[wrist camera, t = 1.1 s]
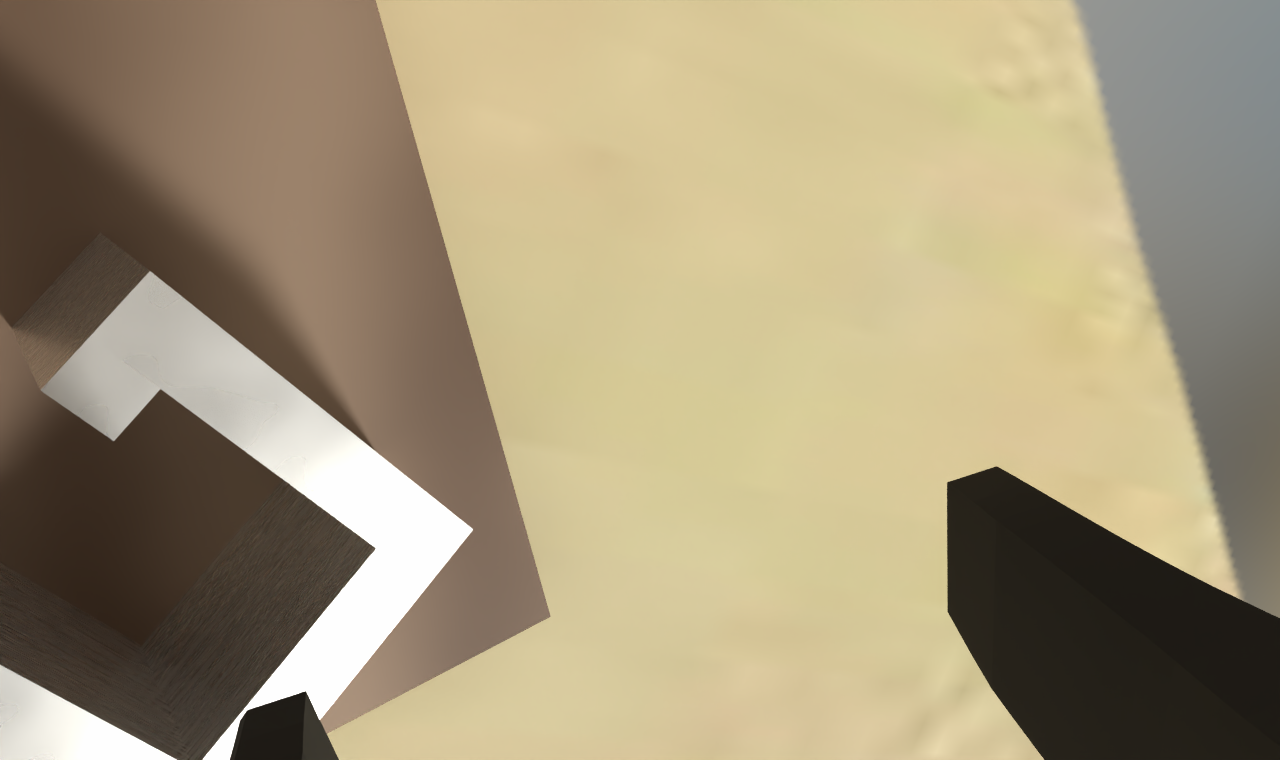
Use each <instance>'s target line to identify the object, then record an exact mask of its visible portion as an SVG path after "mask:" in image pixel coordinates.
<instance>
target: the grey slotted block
mask: <svg viewBox="0 0 1280 760" xmlns="http://www.w3.org/2000/svg"><path fill="white" fill-rule="evenodd" d="M11 328H12V330H13V332H14V334H15V337H16V339H17V341H18V343H19V345H20V347H21V350H22V352H23V354H24V356H25V358H26V360H27V363H28V365H29V367H30V369H31V371H32V373H33V375H34V378H35V380H36V382H37V384H38V386H39V388H40V390H41V391H42V392H43V393H45V394H46V395H48V396H49V397H51V398H52V399H54V400H55V401H56V402H58V403H59V404H61V405H62V406H64V407H65V408H67V409H68V410H69V411H71V412H72V413H74V414H75V415H77V416H78V417H80V418H81V419H82V420H84V421H85V422H87V423H88V424H90V425H91V426H93V427H94V428H95V429H97V430H98V431H100V432H101V433H103V434H104V435H106V436H107V437H108V438H110V439H111V440H113V441H115V439H116V438H117V437H118V436H119V435H120V434H121V433H122V432H123V430H124V429H125V428H126V427H127V426H128V425H129V424H130V423H131V421H132V420H133V419H134V418H135V417H136V416H137V415H138V414H139V413H140V411H141V410H142V409H143V408H144V407H145V406H146V405H147V404H148V402H149V401H150V400H151V399H152V398H153V397H154V396H155V395H156V394H157V392H158V391H159V390H160V389H161V390H163V391H164V392H165V393H167V394H168V395H169V396H171V397H172V398H174V399H175V400H176V401H178V402H179V403H180V404H182V405H183V406H184V407H186V408H187V409H188V410H190V411H191V412H192V413H194V414H195V415H197V416H198V417H199V418H201V419H202V420H203V421H205V422H206V423H207V424H209V425H210V426H211V427H213V428H214V429H215V430H217V431H218V432H220V433H221V434H222V435H224V436H225V437H226V438H228V439H229V440H230V441H232V442H233V443H234V444H236V445H237V446H238V447H240V448H241V449H243V450H244V451H245V452H247V453H248V454H249V455H251V456H252V457H253V458H255V459H256V460H257V461H259V462H260V463H261V464H263V465H264V466H266V467H267V468H268V469H270V470H271V471H272V472H274V473H275V474H276V475H278V476H279V477H280V478H282V479H283V480H282V481H281V482H280V484H279V485H278V486H277V487H276V488H275V489H274V491H273V492H272V493H271V494H270V495H269V497H268V498H267V499H266V500H265V501H264V502H263V504H262V505H261V506H260V507H259V508H258V509H257V511H256V512H255V513H254V514H253V515H252V516H251V518H250V519H249V520H248V521H247V522H246V523H245V525H244V526H243V527H242V528H241V529H240V531H239V532H238V533H237V534H236V535H235V536H234V538H233V539H232V540H231V541H230V542H229V543H228V545H227V546H226V547H225V548H224V549H223V550H222V552H221V553H220V554H219V555H218V556H217V558H216V559H215V560H214V561H213V562H212V563H211V565H210V566H209V567H208V568H207V569H206V570H205V572H204V573H203V574H202V575H201V576H200V577H199V579H198V580H197V581H196V582H195V583H194V584H193V586H192V587H191V588H190V589H189V590H188V592H187V593H186V594H185V595H184V596H183V597H182V599H181V600H180V601H179V602H178V603H177V604H176V606H175V607H174V608H173V609H172V610H171V611H170V613H169V614H168V615H167V616H166V617H165V619H164V620H163V621H162V622H161V623H160V624H159V626H158V627H157V628H156V629H155V630H154V631H153V633H152V634H151V635H150V636H149V637H148V638H147V640H146V641H145V642H144V643H143V644H142V645H139V644H137V643H135V642H134V641H132V640H130V639H129V638H127V637H125V636H124V635H122V634H120V633H119V632H117V631H115V630H113V629H112V628H110V627H108V626H107V625H105V624H103V623H102V622H100V621H98V620H96V619H95V618H93V617H91V616H90V615H88V614H86V613H85V612H83V611H81V610H80V609H78V608H76V607H74V606H73V605H71V604H69V603H68V602H66V601H64V600H63V599H61V598H59V597H57V596H56V595H54V594H52V593H51V592H49V591H47V590H46V589H44V588H42V587H41V586H39V585H37V584H35V583H34V582H32V581H30V580H29V579H27V578H25V577H24V576H22V575H20V574H19V573H17V572H15V571H13V570H12V569H10V568H8V567H7V566H5V565H3V564H2V563H0V760H230V756H231V752H232V749H233V745H234V741H235V737H236V733H237V729H238V725H239V721H240V720H241V718H242V717H243V715H244V714H245V712H246V711H247V710H248V709H251V708H254V707H258V706H261V705H264V704H267V703H270V702H273V701H276V700H279V699H282V698H285V697H288V696H291V695H294V694H298V693H301V692H304V691H307V694H308V696H309V698H310V700H311V702H312V704H313V706H314V708H315V711H316V713H317V715H318V717H319V719H321V718H322V716H323V715H324V714H325V713H326V711H327V710H328V709H329V708H330V706H331V705H332V704H333V703H334V701H335V700H336V699H337V698H338V696H339V695H340V694H341V693H342V692H343V690H344V689H345V688H346V687H347V685H348V684H349V683H350V682H351V680H352V679H353V678H354V677H355V675H356V674H357V673H358V672H359V670H360V669H361V668H362V667H363V665H364V664H365V663H366V662H367V660H368V659H369V658H370V657H371V656H372V654H373V653H374V652H375V651H376V649H377V648H378V647H379V646H380V644H381V643H382V642H383V641H384V639H385V638H386V637H387V636H388V634H389V633H390V632H391V631H392V629H393V628H394V627H395V626H396V625H397V623H398V622H399V621H400V620H401V618H402V617H403V616H404V615H405V613H406V612H407V611H408V610H409V608H410V607H411V606H412V605H413V603H414V602H415V601H416V600H417V598H418V597H419V596H420V595H421V593H422V592H423V591H424V590H425V589H426V587H427V586H428V585H429V584H430V582H431V581H432V580H433V579H434V577H435V576H436V575H437V574H438V572H439V571H440V570H441V569H442V567H443V566H444V565H445V564H446V562H447V561H448V560H449V559H450V558H451V556H452V555H453V554H454V553H455V551H456V550H457V549H458V548H459V546H460V545H461V544H462V543H463V541H464V540H465V539H466V538H467V536H468V535H469V534H470V533H471V531H472V530H473V529H472V528H471V527H469V526H468V525H467V524H466V523H464V522H463V521H462V520H461V519H459V518H458V517H457V516H456V515H454V514H453V513H452V512H451V511H449V510H448V509H447V508H446V507H444V506H443V505H442V504H441V503H439V502H438V501H437V500H436V499H434V498H433V497H432V496H431V495H429V494H428V493H427V492H426V491H424V490H423V489H422V488H421V487H419V486H418V485H417V484H416V483H414V482H413V481H412V480H411V479H409V478H408V477H407V476H406V475H404V474H403V473H402V472H401V471H399V470H398V469H397V468H396V467H394V466H393V465H392V464H391V463H389V462H388V461H387V460H386V459H384V458H383V457H382V456H381V455H379V454H378V453H377V452H376V451H374V450H373V449H372V448H371V447H369V446H368V445H367V444H366V443H364V442H363V441H362V440H361V439H359V438H358V437H357V436H356V435H354V434H353V433H352V432H351V431H349V430H348V429H347V428H346V427H344V426H343V425H342V424H341V423H339V422H338V421H337V420H336V419H334V418H333V417H332V416H331V415H329V414H328V413H327V412H326V411H324V410H323V409H322V408H321V407H319V406H318V405H317V404H316V403H314V402H313V401H312V400H311V399H309V398H308V397H307V396H306V395H304V394H303V393H302V392H301V391H299V390H298V389H297V388H296V387H294V386H293V385H292V384H291V383H289V382H288V381H287V380H286V379H284V378H283V377H282V376H281V375H279V374H278V373H277V372H276V371H274V370H273V369H272V368H271V367H269V366H268V365H267V364H266V363H264V362H263V361H262V360H261V359H259V358H258V357H257V356H256V355H254V354H253V353H252V352H251V351H249V350H248V349H247V348H246V347H244V346H243V345H242V344H241V343H239V342H238V341H237V340H236V339H234V338H233V337H232V336H231V335H229V334H228V333H227V332H226V331H224V330H223V329H222V328H221V327H219V326H218V325H217V324H216V323H214V322H213V321H212V320H211V319H209V318H208V317H207V316H206V315H204V314H203V313H202V312H201V311H199V310H198V309H197V308H196V307H194V306H193V305H192V304H191V303H189V302H188V301H187V300H186V299H184V298H183V297H182V296H181V295H179V294H178V293H177V292H176V291H174V290H173V289H172V288H171V287H169V286H168V285H167V284H166V283H164V282H163V281H162V280H161V279H159V278H158V277H157V276H156V275H154V274H153V273H152V272H151V271H149V270H148V269H147V268H145V267H144V266H143V265H142V264H140V263H139V262H138V261H136V260H135V259H134V258H133V257H131V256H130V255H129V254H127V253H126V252H125V251H123V250H122V249H121V248H120V247H118V246H117V245H116V244H114V243H113V242H112V241H110V240H109V239H108V238H107V237H105V236H104V235H103V234H101V233H99V235H98V236H97V237H96V238H95V239H94V240H93V241H92V242H91V243H90V244H89V245H88V246H87V247H86V248H85V249H84V251H83V252H82V253H81V254H80V255H79V256H78V257H77V258H76V259H75V260H74V261H73V262H72V263H71V264H70V266H69V267H68V268H67V269H66V270H65V271H64V272H63V273H62V274H61V275H60V276H59V277H58V278H57V279H56V280H55V282H54V283H53V284H52V285H51V286H50V287H49V288H48V289H47V290H46V291H45V292H44V293H43V294H42V295H41V297H40V298H39V299H38V300H37V301H36V302H35V303H34V304H33V305H32V306H31V307H30V308H29V309H28V310H27V311H26V313H25V314H24V315H23V316H22V317H21V318H20V319H19V320H18V321H17V322H16V323H15V324H14V325H13V326H12V327H11Z"/></svg>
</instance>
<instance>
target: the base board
mask: <svg viewBox="0 0 1280 760" xmlns="http://www.w3.org/2000/svg"><path fill="white" fill-rule="evenodd" d="M99 233H101V234H103V235H104V236H105V237H107V238H108V239H109V240H110V241H112V242H113V243H114V244H116V245H117V246H118V247H120V248H121V249H122V250H123V251H125V252H126V253H127V254H129V255H130V256H131V257H133V258H134V259H135V260H136V261H138V262H139V263H140V264H142V265H143V266H144V267H145V268H147V269H148V270H149V271H151V272H152V273H153V274H154V275H156V276H157V277H158V278H159V279H161V280H162V281H163V282H164V283H166V284H167V285H168V286H169V287H171V288H172V289H173V290H174V291H176V292H177V293H178V294H179V295H181V296H182V297H183V298H184V299H186V300H187V301H188V302H189V303H191V304H192V305H193V306H194V307H196V308H197V309H198V310H199V311H201V312H202V313H203V314H204V315H206V316H207V317H208V318H209V319H211V320H212V321H213V322H214V323H216V324H217V325H218V326H219V327H221V328H222V329H223V330H224V331H226V332H227V333H228V334H229V335H231V336H232V337H233V338H234V339H236V340H237V341H238V342H239V343H241V344H242V345H243V346H244V347H246V348H247V349H248V350H249V351H251V352H252V353H253V354H254V355H256V356H257V357H258V358H259V359H261V360H262V361H263V362H264V363H266V364H267V365H268V366H269V367H271V368H272V369H273V370H274V371H276V372H277V373H278V374H279V375H281V376H282V377H283V378H284V379H286V380H287V381H288V382H289V383H291V384H292V385H293V386H294V387H296V388H297V389H298V390H299V391H301V392H302V393H303V394H304V395H306V396H307V397H308V398H309V399H311V400H312V401H313V402H314V403H316V404H317V405H318V406H319V407H321V408H322V409H323V410H324V411H326V412H327V413H328V414H329V415H331V416H332V417H333V418H334V419H336V420H337V421H338V422H339V423H341V424H342V425H343V426H344V427H346V428H347V429H348V430H349V431H351V432H352V433H353V434H354V435H356V436H357V437H358V438H359V439H361V440H362V441H363V442H364V443H366V444H367V445H368V446H369V447H371V448H372V449H373V450H374V451H376V452H377V453H378V454H379V455H381V456H382V457H383V458H384V459H386V460H387V461H388V462H389V463H391V464H392V465H393V466H394V467H396V468H397V469H398V470H399V471H401V472H402V473H403V474H404V475H406V476H407V477H408V478H409V479H411V480H412V481H413V482H414V483H416V484H417V485H418V486H419V487H421V488H422V489H423V490H424V491H426V492H427V493H428V494H429V495H431V496H432V497H433V498H434V499H436V500H437V501H438V502H439V503H441V504H442V505H443V506H444V507H446V508H447V509H448V510H449V511H451V512H452V513H453V514H454V515H456V516H457V517H458V518H459V519H461V520H462V521H463V522H464V523H466V524H467V525H468V526H469V527H471V528H472V529H473V530H472V531H471V533H470V534H469V535H468V536H467V538H466V539H465V540H464V541H463V543H462V544H461V545H460V546H459V548H458V549H457V550H456V551H455V553H454V554H453V555H452V556H451V558H450V559H449V560H448V561H447V562H446V564H445V565H444V566H443V567H442V569H441V570H440V571H439V572H438V574H437V575H436V576H435V577H434V579H433V580H432V581H431V582H430V584H429V585H428V586H427V587H426V589H425V590H424V591H423V592H422V593H421V595H420V596H419V597H418V598H417V600H416V601H415V602H414V603H413V605H412V606H411V607H410V608H409V610H408V611H407V612H406V613H405V615H404V616H403V617H402V618H401V620H400V621H399V622H398V623H397V625H396V626H395V627H394V628H393V629H392V631H391V632H390V633H389V634H388V636H387V637H386V638H385V639H384V641H383V642H382V643H381V644H380V646H379V647H378V648H377V649H376V651H375V652H374V653H373V654H372V656H371V657H370V658H369V659H368V660H367V662H366V663H365V664H364V665H363V667H362V668H361V669H360V670H359V672H358V673H357V674H356V675H355V677H354V678H353V679H352V680H351V682H350V683H349V684H348V685H347V687H346V688H345V689H344V690H343V692H342V693H341V694H340V695H339V696H338V698H337V699H336V700H335V701H334V703H333V704H332V705H331V706H330V708H329V709H328V710H327V711H326V713H325V714H324V715H323V716H322V718H321V719H320V721H321V723H322V725H323V727H324V730H325V732H326V734H327V733H329V732H331V731H333V730H335V729H337V728H338V727H340V726H342V725H344V724H346V723H348V722H350V721H352V720H354V719H356V718H358V717H359V716H361V715H363V714H365V713H367V712H369V711H371V710H373V709H375V708H377V707H379V706H380V705H382V704H384V703H386V702H388V701H390V700H392V699H394V698H396V697H398V696H400V695H402V694H403V693H405V692H407V691H409V690H411V689H413V688H415V687H417V686H419V685H421V684H423V683H424V682H426V681H428V680H430V679H432V678H434V677H436V676H438V675H440V674H442V673H444V672H445V671H447V670H449V669H451V668H453V667H455V666H457V665H459V664H461V663H463V662H465V661H467V660H468V659H470V658H472V657H474V656H476V655H478V654H480V653H482V652H484V651H486V650H488V649H489V648H491V647H493V646H495V645H497V644H499V643H501V642H503V641H505V640H507V639H509V638H510V637H512V636H514V635H516V634H518V633H520V632H522V631H524V630H526V629H528V628H530V627H532V626H533V625H535V624H537V623H539V622H541V621H543V620H545V619H547V618H549V617H550V613H549V610H548V606H547V603H546V599H545V596H544V592H543V589H542V585H541V582H540V578H539V574H538V571H537V567H536V564H535V560H534V557H533V553H532V550H531V546H530V543H529V539H528V536H527V532H526V529H525V525H524V522H523V518H522V515H521V511H520V508H519V504H518V501H517V497H516V494H515V490H514V487H513V483H512V479H511V476H510V472H509V469H508V465H507V462H506V458H505V455H504V451H503V448H502V444H501V441H500V437H499V434H498V430H497V427H496V423H495V420H494V416H493V413H492V409H491V406H490V402H489V399H488V395H487V391H486V388H485V384H484V381H483V377H482V374H481V370H480V367H479V363H478V360H477V356H476V353H475V349H474V346H473V342H472V339H471V335H470V332H469V328H468V325H467V321H466V318H465V314H464V311H463V307H462V304H461V300H460V296H459V293H458V289H457V286H456V282H455V279H454V275H453V272H452V268H451V265H450V261H449V258H448V254H447V251H446V247H445V244H444V240H443V237H442V233H441V230H440V226H439V223H438V219H437V216H436V212H435V208H434V205H433V201H432V198H431V194H430V191H429V187H428V184H427V180H426V177H425V173H424V170H423V166H422V163H421V159H420V156H419V152H418V149H417V145H416V142H415V138H414V135H413V131H412V128H411V124H410V121H409V117H408V113H407V110H406V106H405V103H404V99H403V96H402V92H401V89H400V85H399V82H398V78H397V75H396V71H395V68H394V64H393V61H392V57H391V54H390V50H389V47H388V43H387V40H386V36H385V33H384V29H383V25H382V22H381V18H380V15H379V11H378V8H377V4H376V1H375V0H0V563H2V564H3V565H5V566H7V567H8V568H10V569H12V570H13V571H15V572H17V573H19V574H20V575H22V576H24V577H25V578H27V579H29V580H30V581H32V582H34V583H35V584H37V585H39V586H41V587H42V588H44V589H46V590H47V591H49V592H51V593H52V594H54V595H56V596H57V597H59V598H61V599H63V600H64V601H66V602H68V603H69V604H71V605H73V606H74V607H76V608H78V609H80V610H81V611H83V612H85V613H86V614H88V615H90V616H91V617H93V618H95V619H96V620H98V621H100V622H102V623H103V624H105V625H107V626H108V627H110V628H112V629H113V630H115V631H117V632H119V633H120V634H122V635H124V636H125V637H127V638H129V639H130V640H132V641H134V642H135V643H137V644H139V645H142V644H143V643H144V642H145V641H146V640H147V638H148V637H149V636H150V635H151V634H152V633H153V631H154V630H155V629H156V628H157V627H158V626H159V624H160V623H161V622H162V621H163V620H164V619H165V617H166V616H167V615H168V614H169V613H170V611H171V610H172V609H173V608H174V607H175V606H176V604H177V603H178V602H179V601H180V600H181V599H182V597H183V596H184V595H185V594H186V593H187V592H188V590H189V589H190V588H191V587H192V586H193V584H194V583H195V582H196V581H197V580H198V579H199V577H200V576H201V575H202V574H203V573H204V572H205V570H206V569H207V568H208V567H209V566H210V565H211V563H212V562H213V561H214V560H215V559H216V558H217V556H218V555H219V554H220V553H221V552H222V550H223V549H224V548H225V547H226V546H227V545H228V543H229V542H230V541H231V540H232V539H233V538H234V536H235V535H236V534H237V533H238V532H239V531H240V529H241V528H242V527H243V526H244V525H245V523H246V522H247V521H248V520H249V519H250V518H251V516H252V515H253V514H254V513H255V512H256V511H257V509H258V508H259V507H260V506H261V505H262V504H263V502H264V501H265V500H266V499H267V498H268V497H269V495H270V494H271V493H272V492H273V491H274V489H275V488H276V487H277V486H278V485H279V484H280V482H281V481H282V480H283V479H282V478H280V477H279V476H278V475H276V474H275V473H274V472H272V471H271V470H270V469H268V468H267V467H266V466H264V465H263V464H261V463H260V462H259V461H257V460H256V459H255V458H253V457H252V456H251V455H249V454H248V453H247V452H245V451H244V450H243V449H241V448H240V447H238V446H237V445H236V444H234V443H233V442H232V441H230V440H229V439H228V438H226V437H225V436H224V435H222V434H221V433H220V432H218V431H217V430H215V429H214V428H213V427H211V426H210V425H209V424H207V423H206V422H205V421H203V420H202V419H201V418H199V417H198V416H197V415H195V414H194V413H192V412H191V411H190V410H188V409H187V408H186V407H184V406H183V405H182V404H180V403H179V402H178V401H176V400H175V399H174V398H172V397H171V396H169V395H168V394H167V393H165V392H164V391H163V390H161V389H160V390H159V391H158V392H157V394H156V395H155V396H154V397H153V398H152V399H151V400H150V401H149V402H148V404H147V405H146V406H145V407H144V408H143V409H142V410H141V411H140V413H139V414H138V415H137V416H136V417H135V418H134V419H133V420H132V421H131V423H130V424H129V425H128V426H127V427H126V428H125V429H124V430H123V432H122V433H121V434H120V435H119V436H118V437H117V438H116V439H115V441H113V440H111V439H110V438H108V437H107V436H106V435H104V434H103V433H101V432H100V431H98V430H97V429H95V428H94V427H93V426H91V425H90V424H88V423H87V422H85V421H84V420H82V419H81V418H80V417H78V416H77V415H75V414H74V413H72V412H71V411H69V410H68V409H67V408H65V407H64V406H62V405H61V404H59V403H58V402H56V401H55V400H54V399H52V398H51V397H49V396H48V395H46V394H45V393H43V392H42V391H41V390H40V388H39V386H38V384H37V382H36V380H35V378H34V375H33V373H32V371H31V369H30V367H29V365H28V363H27V360H26V358H25V356H24V354H23V352H22V350H21V347H20V345H19V343H18V341H17V339H16V337H15V334H14V332H13V330H12V328H11V327H12V326H13V325H14V324H15V323H16V322H17V321H18V320H19V319H20V318H21V317H22V316H23V315H24V314H25V313H26V311H27V310H28V309H29V308H30V307H31V306H32V305H33V304H34V303H35V302H36V301H37V300H38V299H39V298H40V297H41V295H42V294H43V293H44V292H45V291H46V290H47V289H48V288H49V287H50V286H51V285H52V284H53V283H54V282H55V280H56V279H57V278H58V277H59V276H60V275H61V274H62V273H63V272H64V271H65V270H66V269H67V268H68V267H69V266H70V264H71V263H72V262H73V261H74V260H75V259H76V258H77V257H78V256H79V255H80V254H81V253H82V252H83V251H84V249H85V248H86V247H87V246H88V245H89V244H90V243H91V242H92V241H93V240H94V239H95V238H96V237H97V236H98V235H99Z"/></svg>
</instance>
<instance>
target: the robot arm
mask: <svg viewBox="0 0 1280 760" xmlns="http://www.w3.org/2000/svg"><path fill="white" fill-rule="evenodd" d="M947 559H948V613H949V615H950V617H951V618H952V620H953V622H954V624H955V626H956V627H957V629H958V631H959V633H960V635H961V636H962V638H963V640H964V642H965V644H966V645H967V647H968V649H969V651H970V653H971V654H972V656H973V658H974V659H975V661H976V663H977V665H978V666H979V668H980V670H981V671H982V673H983V675H984V676H985V678H986V680H987V681H988V683H989V685H990V687H991V688H992V690H993V691H994V692H995V694H996V695H997V697H998V698H999V699H1000V701H1001V702H1002V703H1003V705H1004V706H1005V708H1006V709H1007V710H1008V712H1009V713H1010V714H1011V716H1012V717H1013V718H1014V720H1015V721H1016V722H1017V724H1018V725H1019V726H1020V728H1021V729H1022V730H1023V732H1024V733H1025V734H1026V736H1027V737H1028V738H1029V740H1030V741H1031V742H1032V744H1033V745H1034V746H1035V748H1036V749H1037V750H1038V752H1039V753H1040V754H1041V756H1042V757H1043V758H1044V760H1280V618H1278V617H1276V616H1273V615H1271V614H1269V613H1267V612H1265V611H1263V610H1261V609H1259V608H1257V607H1254V606H1252V605H1250V604H1248V603H1246V602H1244V601H1242V600H1240V599H1238V598H1236V597H1234V596H1232V595H1230V594H1227V593H1225V592H1223V591H1221V590H1219V589H1217V588H1215V587H1213V586H1211V585H1209V584H1207V583H1205V582H1203V581H1201V580H1199V579H1197V578H1195V577H1193V576H1191V575H1189V574H1187V573H1185V572H1184V571H1182V570H1180V569H1178V568H1176V567H1174V566H1172V565H1170V564H1168V563H1166V562H1165V561H1163V560H1161V559H1159V558H1157V557H1155V556H1153V555H1152V554H1150V553H1148V552H1146V551H1144V550H1142V549H1141V548H1139V547H1137V546H1135V545H1133V544H1131V543H1130V542H1128V541H1126V540H1124V539H1122V538H1121V537H1119V536H1117V535H1115V534H1114V533H1112V532H1110V531H1108V530H1106V529H1105V528H1103V527H1101V526H1099V525H1098V524H1096V523H1094V522H1092V521H1091V520H1089V519H1087V518H1085V517H1084V516H1082V515H1080V514H1078V513H1077V512H1075V511H1073V510H1072V509H1070V508H1068V507H1066V506H1065V505H1063V504H1061V503H1060V502H1058V501H1056V500H1054V499H1053V498H1051V497H1049V496H1048V495H1046V494H1044V493H1042V492H1041V491H1039V490H1037V489H1036V488H1034V487H1032V486H1030V485H1029V484H1027V483H1025V482H1023V481H1022V480H1020V479H1018V478H1017V477H1015V476H1013V475H1011V474H1009V473H1008V472H1006V471H1004V470H1002V469H1001V468H999V467H993V468H990V469H987V470H984V471H981V472H978V473H975V474H972V475H969V476H966V477H963V478H960V479H957V480H953V481H950V482H947ZM230 760H339V759H338V757H337V755H336V753H335V751H334V749H333V747H332V744H331V742H330V740H329V738H328V736H327V734H326V732H325V730H324V727H323V725H322V723H321V721H320V719H319V717H318V715H317V713H316V711H315V708H314V706H313V704H312V702H311V700H310V698H309V696H308V694H307V691H304V692H301V693H298V694H294V695H291V696H288V697H285V698H282V699H279V700H276V701H273V702H270V703H267V704H264V705H261V706H258V707H254V708H251V709H248V710H247V711H246V712H245V714H244V715H243V717H242V718H241V720H240V721H239V725H238V729H237V733H236V737H235V741H234V745H233V749H232V752H231V756H230Z"/></svg>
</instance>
